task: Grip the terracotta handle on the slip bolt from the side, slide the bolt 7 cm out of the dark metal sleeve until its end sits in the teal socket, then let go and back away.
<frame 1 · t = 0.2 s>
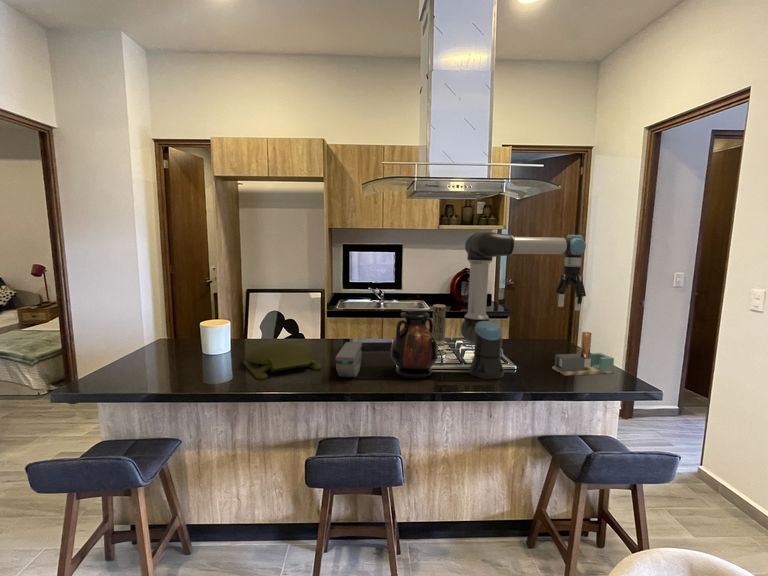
hand: (568, 308, 205), 27 cm above the worktop, tool pointing down, fingers open, 13 cm apart
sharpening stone: (349, 373, 187), on the worktop
sleeve: (568, 371, 193), resting on base board
wooden log: (438, 350, 228), on the worktop
base board: (582, 370, 194), on the worktop
socket: (600, 369, 196), resting on base board
olive folded cloth: (280, 365, 198), on the worktop
amphora vase: (413, 373, 187), on the worktop
slip bolt: (576, 349, 192), point 10 cm above the worktop, slide at 0.0 cm
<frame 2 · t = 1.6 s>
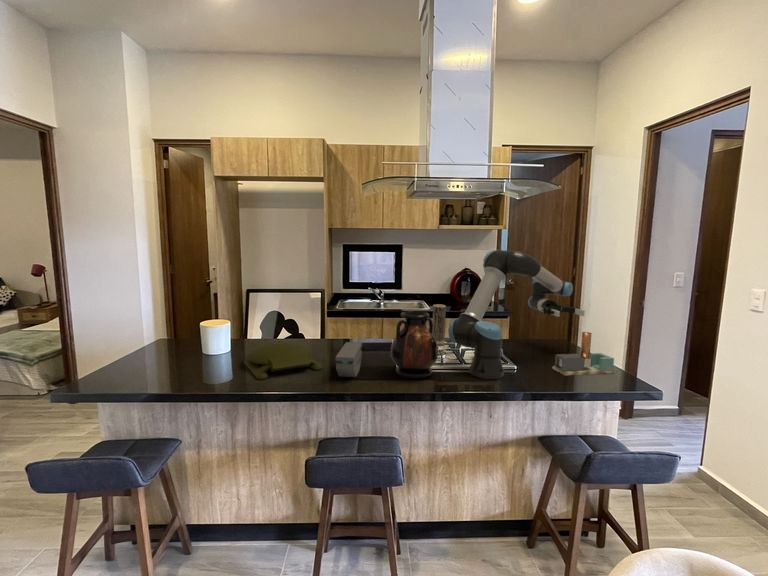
hand: (571, 313, 203), 25 cm above the worktop, tool horizontal, fingers open, 13 cm apart
nothing on the worktop moved.
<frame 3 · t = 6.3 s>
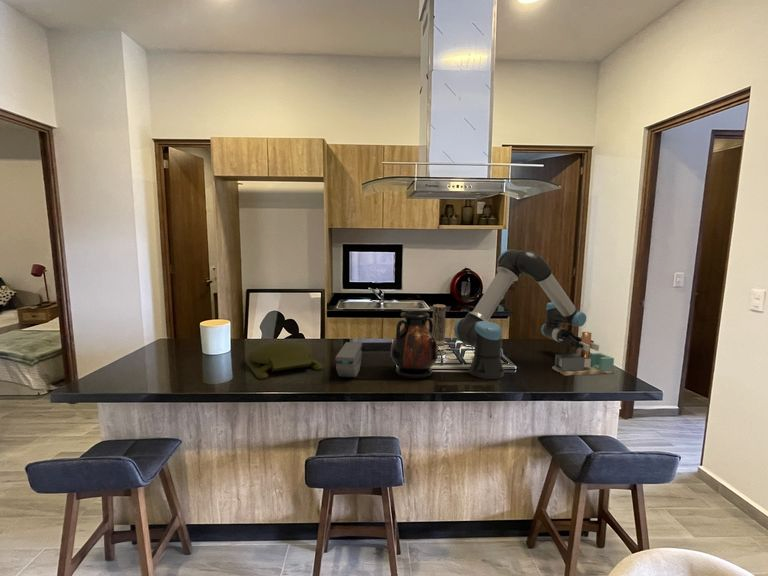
hand: (593, 348, 188), 12 cm above the worktop, tool horizontal, fingers closed on slip bolt, 4 cm apart
slip bolt: (576, 349, 192), point 10 cm above the worktop, slide at 0.0 cm, touching gripper
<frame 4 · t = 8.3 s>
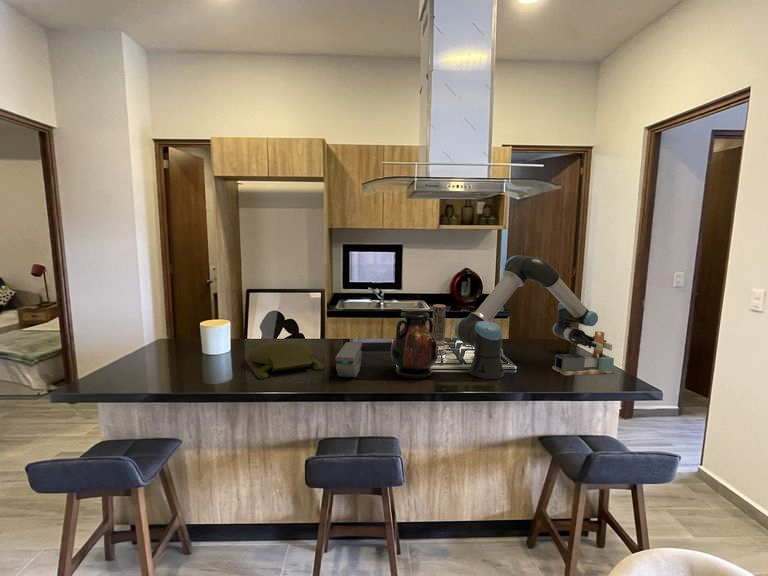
hand: (606, 347, 189), 12 cm above the worktop, tool horizontal, fingers closed on slip bolt, 4 cm apart
slip bolt: (588, 349, 193), point 10 cm above the worktop, slide at 6.8 cm, touching gripper
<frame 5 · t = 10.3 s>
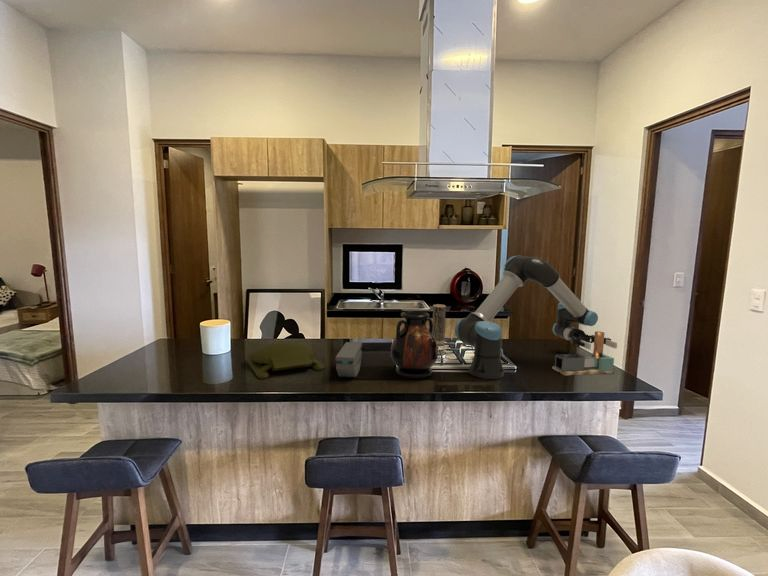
hand: (603, 346, 191), 13 cm above the worktop, tool horizontal, fingers open, 13 cm apart
slip bolt: (589, 349, 193), point 10 cm above the worktop, slide at 6.8 cm
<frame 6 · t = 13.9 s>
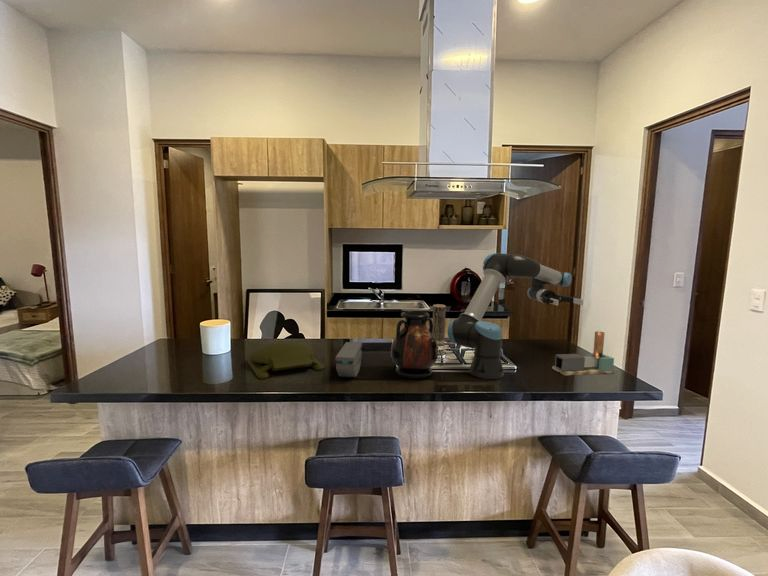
hand: (570, 302, 207), 30 cm above the worktop, tool horizontal, fingers open, 13 cm apart
at the end: slip bolt slide at 6.8 cm; the gripper is holding nothing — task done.
